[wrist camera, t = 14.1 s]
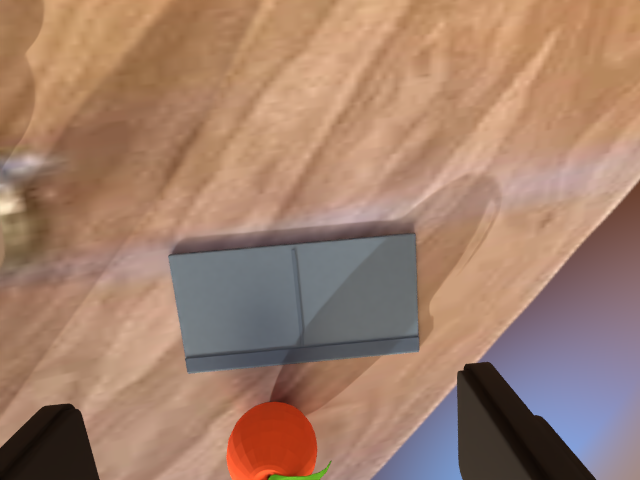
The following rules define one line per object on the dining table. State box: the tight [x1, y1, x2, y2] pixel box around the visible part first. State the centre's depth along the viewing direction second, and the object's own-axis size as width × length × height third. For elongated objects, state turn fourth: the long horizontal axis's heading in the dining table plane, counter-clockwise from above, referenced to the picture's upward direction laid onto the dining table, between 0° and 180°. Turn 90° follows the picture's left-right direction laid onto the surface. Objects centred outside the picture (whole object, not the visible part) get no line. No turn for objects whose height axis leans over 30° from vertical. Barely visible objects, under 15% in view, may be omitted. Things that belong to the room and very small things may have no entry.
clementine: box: [227, 402, 332, 480], centre depth 31 cm, size 8×7×7 cm
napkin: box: [168, 233, 419, 374], centre depth 32 cm, size 19×10×1 cm, turn 95°
